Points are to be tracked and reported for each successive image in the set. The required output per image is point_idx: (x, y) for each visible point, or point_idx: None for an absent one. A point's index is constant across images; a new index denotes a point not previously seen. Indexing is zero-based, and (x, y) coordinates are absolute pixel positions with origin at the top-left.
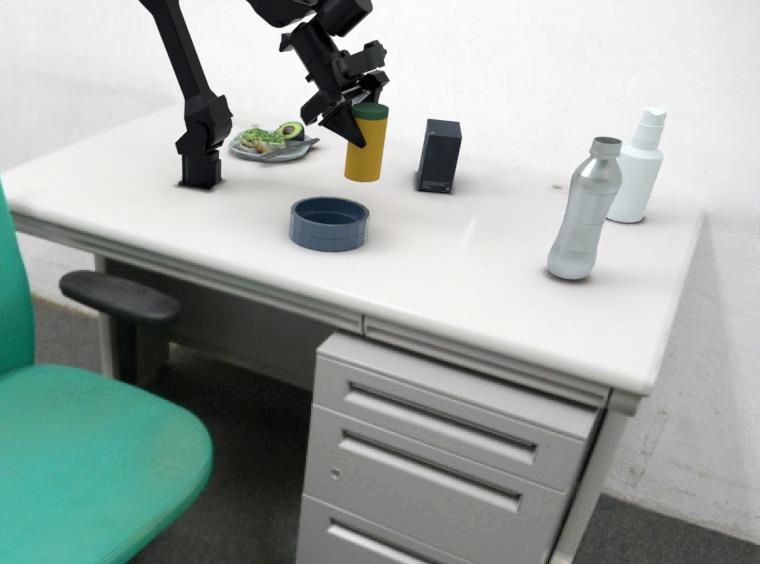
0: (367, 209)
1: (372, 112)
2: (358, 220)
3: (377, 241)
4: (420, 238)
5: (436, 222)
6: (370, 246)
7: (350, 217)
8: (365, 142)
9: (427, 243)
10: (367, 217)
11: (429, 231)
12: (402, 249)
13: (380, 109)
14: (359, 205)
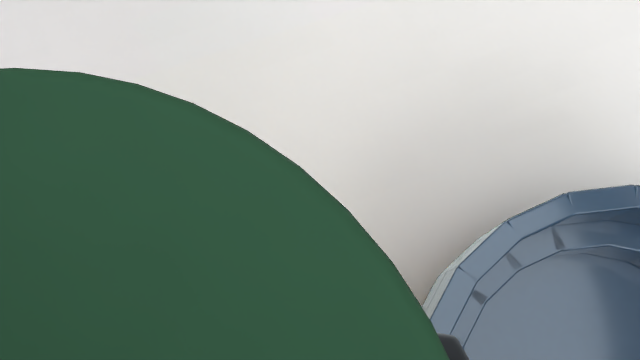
0: (501, 231)
1: (431, 330)
2: (489, 280)
3: (454, 192)
4: (326, 60)
5: (135, 60)
6: (520, 198)
7: (469, 334)
8: (446, 346)
9: (358, 23)
10: (604, 190)
11: (239, 53)
12: (469, 81)
13: (39, 240)
14: (470, 293)
